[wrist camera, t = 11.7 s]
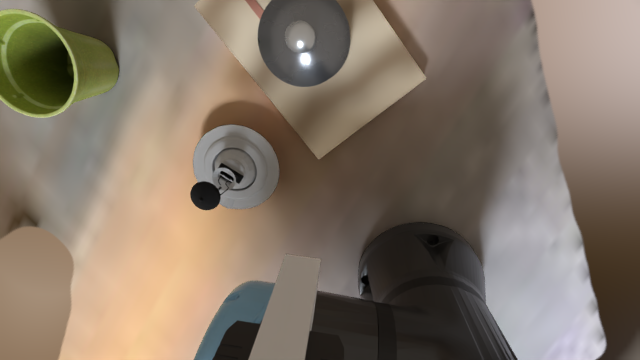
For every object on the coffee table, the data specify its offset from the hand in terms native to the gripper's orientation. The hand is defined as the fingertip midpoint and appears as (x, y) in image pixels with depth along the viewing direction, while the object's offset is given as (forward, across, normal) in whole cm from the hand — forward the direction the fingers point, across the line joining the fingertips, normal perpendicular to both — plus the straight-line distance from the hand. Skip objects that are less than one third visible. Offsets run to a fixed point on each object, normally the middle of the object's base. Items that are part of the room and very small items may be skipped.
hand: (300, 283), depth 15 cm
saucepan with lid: (+24, +6, -14) cm, 28 cm away
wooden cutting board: (+26, +4, -11) cm, 29 cm away
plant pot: (+27, +28, -6) cm, 39 cm away
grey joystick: (+27, +11, +4) cm, 29 cm away
